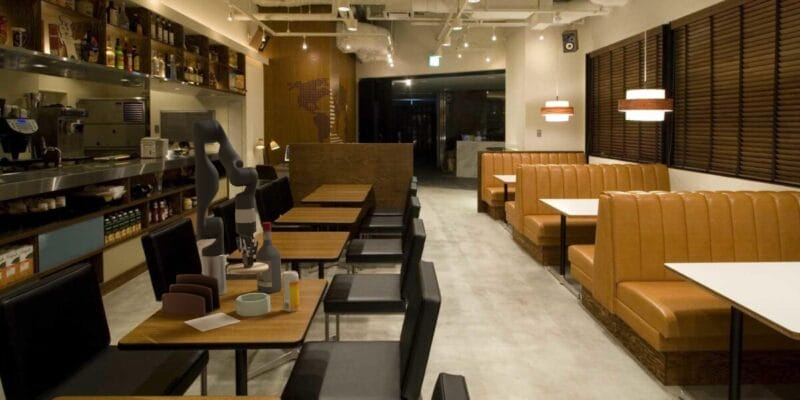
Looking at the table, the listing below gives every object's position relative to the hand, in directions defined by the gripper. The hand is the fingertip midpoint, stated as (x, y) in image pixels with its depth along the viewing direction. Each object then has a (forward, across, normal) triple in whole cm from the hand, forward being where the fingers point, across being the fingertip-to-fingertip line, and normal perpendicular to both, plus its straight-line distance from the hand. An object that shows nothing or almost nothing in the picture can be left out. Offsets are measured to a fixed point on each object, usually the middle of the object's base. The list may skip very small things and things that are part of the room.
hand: (248, 264), depth 227 cm
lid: (+2, 0, 0) cm, 2 cm away
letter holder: (+20, -19, -15) cm, 31 cm away
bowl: (+19, 0, +1) cm, 19 cm away
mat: (+19, 0, -16) cm, 25 cm away
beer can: (+19, +8, +13) cm, 25 cm away
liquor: (+19, -23, +22) cm, 37 cm away
